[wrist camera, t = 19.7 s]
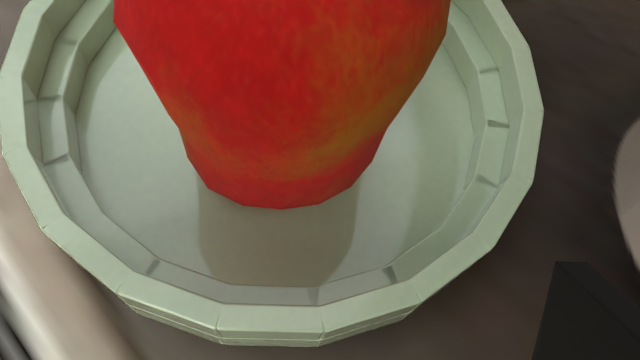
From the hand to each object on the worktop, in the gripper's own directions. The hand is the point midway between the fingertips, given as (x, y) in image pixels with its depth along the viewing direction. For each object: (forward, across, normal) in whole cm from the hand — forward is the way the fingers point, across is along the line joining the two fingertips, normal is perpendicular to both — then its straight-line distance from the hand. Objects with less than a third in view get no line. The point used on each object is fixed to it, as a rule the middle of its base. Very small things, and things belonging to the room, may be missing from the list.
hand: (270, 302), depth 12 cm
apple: (+10, 0, +1) cm, 10 cm away
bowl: (+12, 0, +2) cm, 12 cm away
